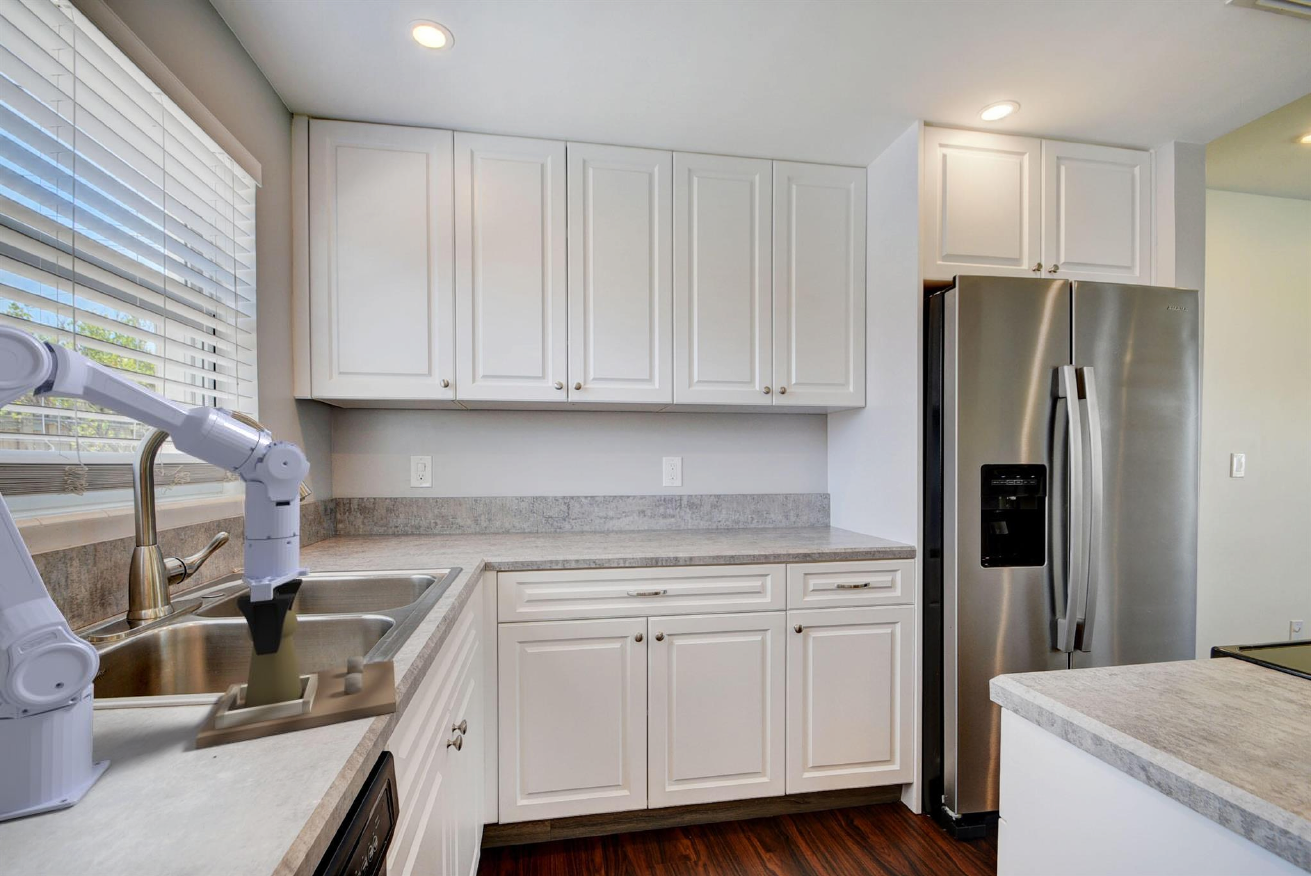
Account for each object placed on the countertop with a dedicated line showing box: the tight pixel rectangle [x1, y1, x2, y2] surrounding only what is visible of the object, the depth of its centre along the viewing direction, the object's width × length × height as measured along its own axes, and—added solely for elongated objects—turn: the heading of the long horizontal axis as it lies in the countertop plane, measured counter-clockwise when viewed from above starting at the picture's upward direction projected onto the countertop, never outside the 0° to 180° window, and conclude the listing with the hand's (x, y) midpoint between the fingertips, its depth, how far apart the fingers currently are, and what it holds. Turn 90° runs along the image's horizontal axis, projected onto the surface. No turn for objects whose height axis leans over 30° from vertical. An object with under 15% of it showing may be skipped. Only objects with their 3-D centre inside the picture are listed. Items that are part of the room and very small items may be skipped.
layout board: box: [195, 655, 397, 750], centre depth 74 cm, size 20×16×3 cm
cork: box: [244, 610, 303, 709], centre depth 71 cm, size 6×6×11 cm
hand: (271, 646), depth 71 cm, fingers closed on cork, 5 cm apart
